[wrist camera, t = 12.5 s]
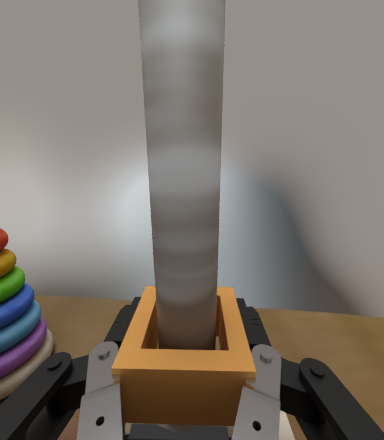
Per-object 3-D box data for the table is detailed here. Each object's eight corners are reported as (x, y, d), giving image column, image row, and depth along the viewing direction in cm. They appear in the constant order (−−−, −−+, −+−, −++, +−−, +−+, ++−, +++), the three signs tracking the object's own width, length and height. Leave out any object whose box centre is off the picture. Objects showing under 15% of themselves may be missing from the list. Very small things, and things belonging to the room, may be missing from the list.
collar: (250, 426, 9) (256, 371, 8) (119, 422, 9) (111, 368, 8) (230, 325, 14) (232, 287, 13) (148, 324, 14) (146, 286, 13)
